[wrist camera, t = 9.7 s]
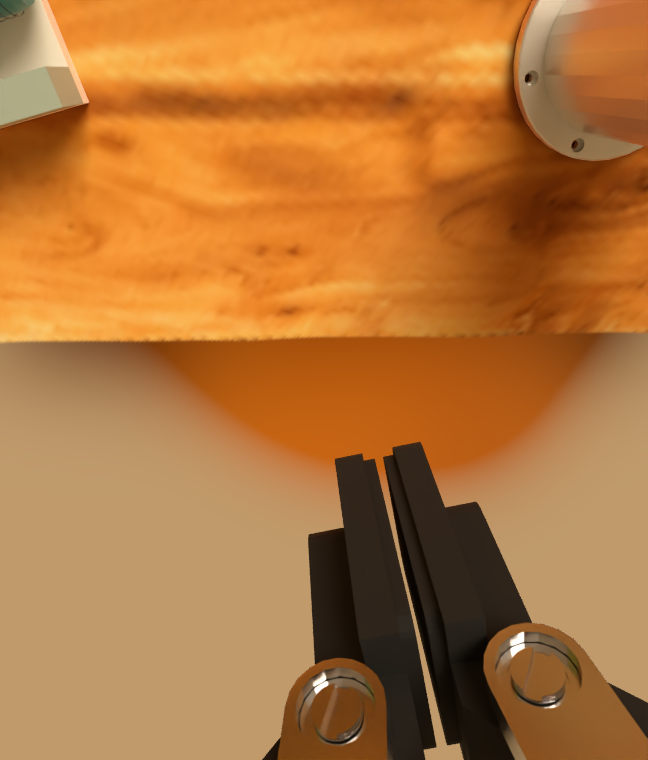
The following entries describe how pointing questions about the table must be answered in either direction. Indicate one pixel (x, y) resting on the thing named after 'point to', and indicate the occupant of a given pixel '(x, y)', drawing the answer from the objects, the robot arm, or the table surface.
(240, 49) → the table surface
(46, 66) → the cradle
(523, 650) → the robot arm
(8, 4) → the beverage bottle
